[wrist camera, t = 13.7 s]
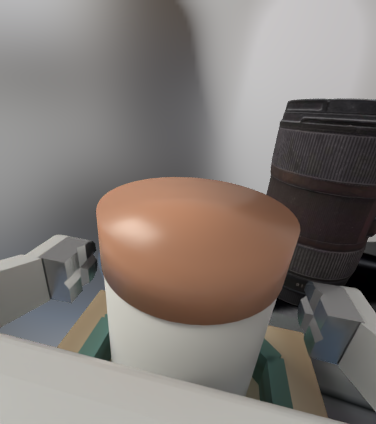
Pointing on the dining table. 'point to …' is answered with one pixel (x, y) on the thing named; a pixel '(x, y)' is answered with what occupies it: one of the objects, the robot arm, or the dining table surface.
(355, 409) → the dining table surface
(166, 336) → the lidded canister
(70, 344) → the seat board
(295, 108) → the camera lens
